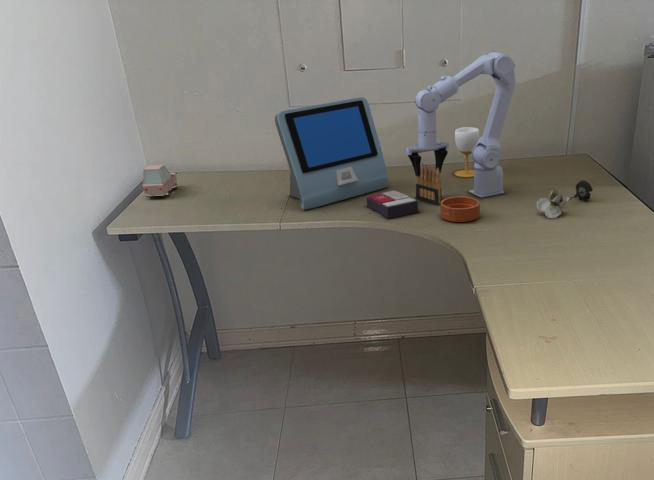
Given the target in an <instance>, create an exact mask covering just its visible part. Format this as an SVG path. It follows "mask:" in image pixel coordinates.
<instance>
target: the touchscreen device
mask: <svg viewBox="0 0 654 480" xmlns="http://www.w3.org/2000/svg"><path fill="white" fill-rule="evenodd" d="M274 123H275V126H276V130H277V132H278V133H277V134H278V136H279V139H280V143H281V145H282V149H283V153H284V155H285V159H286V162H287V165H288V169H289V172H290V174H289V177H290V178H289V196H290V197H292V198H296V199H297V200H299V204H300V207H301V210H302V211H308V210H312V209H315V208H318V207H319V208H320V207H323V206H327V205H331V204H334V203H337V202H341V201H344V200H347V199H351V198H356V197H359V196H362V195H366V194H368V193H372V192H373V193H374V192H377V191H379V190H383V189H385V188H387V187H388V186H389V175H388V171H387V170H388V169H387V166H386V163H385V158H384V154H383V150H382V146H381V143H380V140H379V135H378V133H377V129H376V125H375V122H374V119H373V115H372V111H371V108H370V105H369V101H368V100H367V99H366V97H355V98H349V99H342V100H338V101H331V102H326V103H321V104H315V105H309V106H304V107H297V108H292V109H286V110H282V111H280V112H278V113H277V114H276V115H275V116H274Z"/></svg>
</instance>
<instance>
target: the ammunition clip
mask: <svg viewBox="0 0 654 480" xmlns="http://www.w3.org/2000/svg"><path fill="white" fill-rule="evenodd" d="M440 174H441V173H439V168H438V167H437V170H436V166H433V167H432V166H431V165H429V166H428V165H427V164H425V165H424V163H421V165H420V177H418V176H416V183H415V200H420V201H423V202H427V203H430V204H433V205H436V206H440V203H441V201H442V200H443V197H442V196H443V195H442V194H443V193H442V188H441V177H440V176H441V175H440Z"/></svg>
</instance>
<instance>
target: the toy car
mask: <svg viewBox="0 0 654 480" xmlns="http://www.w3.org/2000/svg"><path fill="white" fill-rule="evenodd" d="M142 175H143V177H142V178H143V180H142V181H143V183H142V186H141V187H142V190H143V192H144V195H145V194H148V195H165V194H166V193H168V192H169V191H170V189H172V187H174V186H176V185H177V186H176V187H175V188H173V189H172V190H177V189H178V180H177V173H176V172H170V171H169V170H168V169H167V167H166V166H165V165H164V164H149V165H147V166H146V167H145V168H144V169H143V170H142ZM170 196H171V191H170V193H169V194H168V195H166V196H165V197H170Z"/></svg>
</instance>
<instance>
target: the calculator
mask: <svg viewBox="0 0 654 480" xmlns="http://www.w3.org/2000/svg"><path fill="white" fill-rule="evenodd" d="M366 206H367V208H370V209H372V210H374V211H376V212H378V213H380V214H381V216H382V217H384V218H386V219H393V218H397V217H402V216H406V215H412V214H415V213H418V212H419V203H418V200H417V199H416V198H412V197H410V196H409V195H407V194H404V193H402V192H400V191H398V190H390V191H385V192H382V193H376V194H370V195H368V196H367V197H366Z"/></svg>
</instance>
